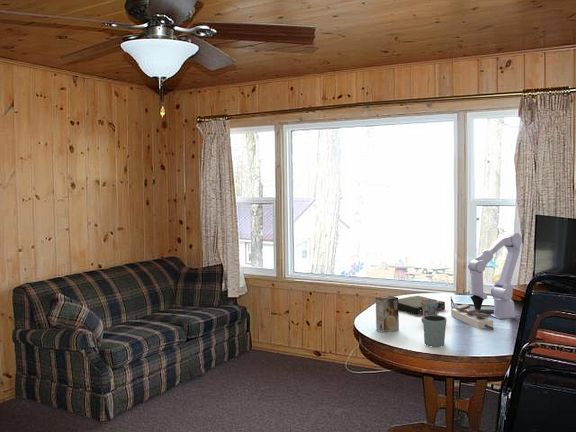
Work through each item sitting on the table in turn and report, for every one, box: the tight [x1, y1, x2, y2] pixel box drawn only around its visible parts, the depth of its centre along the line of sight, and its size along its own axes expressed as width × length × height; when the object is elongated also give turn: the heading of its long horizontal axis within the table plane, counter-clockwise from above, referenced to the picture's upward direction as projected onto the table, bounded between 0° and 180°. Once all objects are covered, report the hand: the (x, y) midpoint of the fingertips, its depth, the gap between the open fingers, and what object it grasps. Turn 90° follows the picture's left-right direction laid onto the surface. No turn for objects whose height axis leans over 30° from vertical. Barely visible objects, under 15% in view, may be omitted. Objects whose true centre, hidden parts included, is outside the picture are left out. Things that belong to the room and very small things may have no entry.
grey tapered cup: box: [422, 314, 448, 348], centre depth 251 cm, size 10×10×12 cm
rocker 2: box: [464, 307, 480, 314], centre depth 287 cm, size 6×4×2 cm, turn 103°
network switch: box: [398, 295, 446, 316], centre depth 316 cm, size 23×24×5 cm
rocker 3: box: [473, 311, 489, 318], centre depth 280 cm, size 6×4×2 cm, turn 103°
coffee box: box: [375, 295, 400, 333], centre depth 275 cm, size 9×6×16 cm
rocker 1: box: [455, 303, 471, 311], centre depth 295 cm, size 6×4×2 cm, turn 102°
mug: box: [420, 298, 440, 322], centre depth 290 cm, size 12×9×11 cm
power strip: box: [450, 308, 494, 331], centre depth 285 cm, size 8×32×4 cm, turn 13°
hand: (477, 310), depth 288 cm, fingers closed, pressing on rocker 2
